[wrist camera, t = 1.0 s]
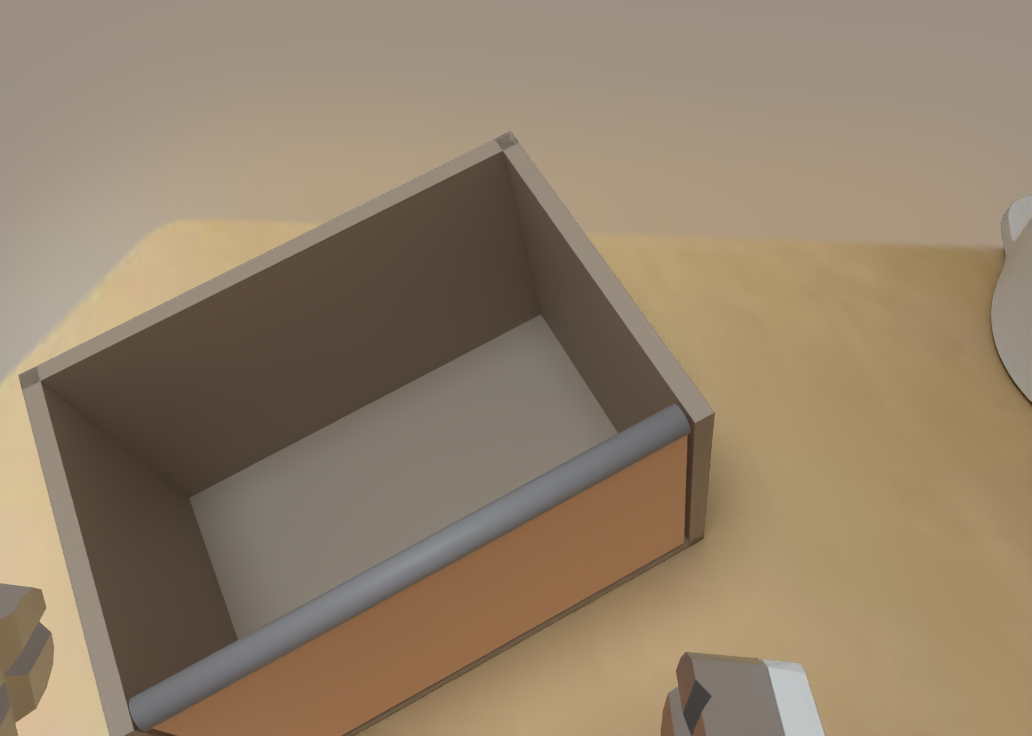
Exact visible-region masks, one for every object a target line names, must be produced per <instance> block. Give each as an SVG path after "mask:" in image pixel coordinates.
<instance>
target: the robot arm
mask: <svg viewBox="0 0 1032 736" xmlns="http://www.w3.org/2000/svg"><path fill="white" fill-rule="evenodd" d="M1001 231H1002V239H1003V245H1004V250H1005V255H1006V257H1005V263H1004V266H1003V269H1002V272H1001V274H1000V277H999V279H998V282H997V285H996V287H995V291H994V294H993V299H992V307H991V324H992V331H993V336H994V340H995V344H996V347H997V350H998V352H999V355H1000V357H1001V359H1002V362H1003V364H1004V366H1005V367H1006V369H1007V371H1008V373H1009V374H1010V376H1011V377H1012V379H1013V380H1014V382H1015V383H1016V384H1017V386H1018V387H1019V388H1020V390H1021V391H1022V392H1023V393H1024V394H1025V395H1026V397H1027V398H1028V399H1029V400H1030V401H1031V402H1032V195H1029V196H1026V197H1023V198H1020V199H1018V200H1017V201H1015V202H1013V203H1012V205H1011V206H1010V207H1009V208H1008V210H1007V212H1006V213H1005V214H1004V215H1003V218H1002V222H1001ZM45 610H46V605H45V601H44V597H43V593H42V590H41V589H37V588H32V587H24V586H16V585H8V584H1V583H0V736H18V733H17V729H16V725H15V723H16V722H17V721H19V720H20V719H22V718H23V717H24V716H26V715H27V714H29V713H30V712H32V711H33V710H35V709H36V708H37V706H38V704H39V702H40V700H41V698H42V696H43V694H44V692H45V690H46V687H47V684H48V680H49V677H50V673H51V670H52V666H53V655H54V644H53V639H52V633H51V632H50V631H49V630H48V629H47V628H46V627H44V626H43V625H42V624H41V623H40V622H39V620H40V619H41V617H42V615H43V613H44V611H45ZM676 673H677V680H678V687H677V688H675V689H674V690H672V691H671V692H669V693H668V696H667V699H666V702H665V706H664V709H663V716H662V725H661V736H826V735H825V732H824V729H823V726H822V722H821V719H820V716H819V713H818V710H817V707H816V703H815V700H814V697H813V694H812V691H811V688H810V685H809V681H808V678H807V675H806V672H805V670H804V668H803V667H802V666H801V665H800V663H794V662H784V661H774V660H764V659H761V660H759V659H758V658H748V657H737V656H726V655H714V654H703V653H691V652H685V654H684V655H683V656H682V657H681V659H680V661H679V664H678V667H677V669H676Z"/></svg>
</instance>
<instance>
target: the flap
mask: <svg viewBox="0 0 1032 736" xmlns="http://www.w3.org/2000/svg"><path fill="white" fill-rule="evenodd" d="M690 433H691V429H690V425H689V423H688V421H687V419H686V417H685V415H684V413H683V412H682V410H681V409H680V408H679V407H678V406H677V405H676V404H675V403H673V404H671V405H670V406H668V407H666V408H664V409H662V410H660V411H658V412H657V413H655V414H653V415H651V416H649V417H647V418H646V419H644V420H642V421H640V422H638V423H636V424H635V425H633V426H631V427H629V428H627V429H625V430H623V431H622V432H620V433H618V434H616V435H614V436H612V437H611V438H609V439H607V440H605V441H603V442H601V443H600V444H598V445H596V446H594V447H592V448H590V449H589V450H587V451H585V452H583V453H581V454H579V455H577V456H576V457H574V458H572V459H570V460H568V461H566V462H565V463H563V464H561V465H559V466H557V467H555V468H554V469H552V470H550V471H548V472H546V473H544V474H542V475H541V476H539V477H537V478H535V479H533V480H531V481H530V482H528V483H526V484H524V485H522V486H520V487H519V488H517V489H515V490H513V491H511V492H509V493H507V494H506V495H504V496H502V497H500V498H498V499H496V500H495V501H493V502H491V503H489V504H487V505H485V506H484V507H482V508H480V509H478V510H476V511H474V512H473V513H471V514H469V515H467V516H465V517H463V518H461V519H460V520H458V521H456V522H454V523H452V524H450V525H449V526H447V527H445V528H443V529H441V530H439V531H438V532H436V533H434V534H432V535H430V536H428V537H426V538H425V539H423V540H421V541H419V542H417V543H415V544H414V545H412V546H410V547H408V548H406V549H404V550H403V551H401V552H399V553H397V554H395V555H393V556H392V557H390V558H388V559H386V560H384V561H382V562H380V563H379V564H377V565H375V566H373V567H371V568H369V569H368V570H366V571H364V572H362V573H360V574H358V575H357V576H355V577H353V578H351V579H349V580H347V581H345V582H344V583H342V584H340V585H338V586H336V587H334V588H333V589H331V590H329V591H327V592H325V593H323V594H322V595H320V596H318V597H316V598H314V599H312V600H310V601H309V602H307V603H305V604H303V605H301V606H299V607H298V608H296V609H294V610H292V611H290V612H288V613H287V614H285V615H283V616H281V617H279V618H277V619H276V620H274V621H272V622H270V623H268V624H266V625H264V626H263V627H261V628H259V629H257V630H255V631H253V632H252V633H250V634H248V635H246V636H244V637H242V638H241V639H239V640H237V641H235V642H233V643H231V644H229V645H228V646H226V647H224V648H222V649H220V650H218V651H217V652H215V653H213V654H211V655H209V656H207V657H206V658H204V659H202V660H200V661H198V662H196V663H194V664H193V665H191V666H189V667H187V668H185V669H183V670H182V671H180V672H178V673H176V674H174V675H172V676H171V677H169V678H167V679H165V680H163V681H161V682H160V683H158V684H156V685H154V686H152V687H150V688H148V689H147V690H145V691H143V692H141V693H139V694H137V695H136V696H134V697H132V698H131V699H130V701H129V709H130V713H131V716H132V718H133V720H134V722H135V724H136V725H137V726H138V727H139V728H140V729H141V730H142V731H148V730H150V729H156V730H159V731H163V732H166V733H170V734H173V735H177V736H342V735H344V734H346V733H347V732H349V731H351V730H353V729H354V728H356V727H358V726H360V725H362V724H363V723H365V722H367V721H369V720H370V719H372V718H374V717H376V716H378V715H379V714H381V713H383V712H385V711H386V710H388V709H390V708H392V707H394V706H395V705H397V704H399V703H401V702H402V701H404V700H406V699H408V698H410V697H411V696H413V695H415V694H417V693H418V692H420V691H422V690H424V689H426V688H427V687H429V686H431V685H433V684H434V683H436V682H438V681H440V680H442V679H443V678H445V677H447V676H449V675H450V674H452V673H454V672H456V671H457V670H459V669H461V668H463V667H465V666H466V665H468V664H470V663H472V662H473V661H475V660H477V659H479V658H481V657H482V656H484V655H486V654H488V653H489V652H491V651H493V650H495V649H497V648H498V647H500V646H502V645H504V644H505V643H507V642H509V641H511V640H513V639H514V638H516V637H518V636H520V635H521V634H523V633H525V632H527V631H529V630H530V629H532V628H534V627H536V626H537V625H539V624H541V623H543V622H545V621H546V620H548V619H550V618H552V617H553V616H555V615H557V614H559V613H561V612H562V611H564V610H566V609H568V608H569V607H571V606H573V605H575V604H577V603H578V602H580V601H582V600H584V599H585V598H587V597H589V596H591V595H593V594H594V593H596V592H598V591H600V590H601V589H603V588H605V587H607V586H609V585H610V584H612V583H614V582H616V581H617V580H619V579H621V578H623V577H625V576H626V575H628V574H630V573H632V572H633V571H635V570H637V569H639V568H641V567H642V566H644V565H646V564H648V563H649V562H651V561H653V560H655V559H657V558H658V557H660V556H662V555H664V554H665V553H667V552H669V551H671V550H673V549H674V548H676V547H678V546H680V545H681V544H683V543H684V527H685V497H686V466H687V436H688V434H690Z"/></svg>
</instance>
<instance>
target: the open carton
mask: <svg viewBox="0 0 1032 736" xmlns="http://www.w3.org/2000/svg"><path fill="white" fill-rule="evenodd" d="M18 376H19V380H20V384H21V388H22V392H23V396H24V400H25V404H26V408H27V412H28V416H29V420H30V424H31V427H32V431H33V435H34V439H35V443H36V447H37V451H38V455H39V459H40V463H41V467H42V471H43V475H44V479H45V483H46V487H47V491H48V495H49V499H50V502H51V506H52V510H53V514H54V518H55V522H56V526H57V530H58V534H59V538H60V542H61V546H62V550H63V554H64V558H65V562H66V566H67V570H68V574H69V578H70V581H71V585H72V589H73V593H74V597H75V601H76V605H77V609H78V613H79V617H80V621H81V625H82V629H83V633H84V637H85V641H86V645H87V649H88V653H89V656H90V660H91V664H92V668H93V672H94V676H95V680H96V684H97V688H98V692H99V696H100V700H101V704H102V708H103V712H104V716H105V720H106V724H107V728H108V732H109V735H110V736H177V735H173V734H170V733H166V732H163V731H159V730H156V729H150V730H148V731H142V730H141V729H140V728H139V727H138V726H137V725H136V724H135V722H134V720H133V718H132V716H131V713H130V709H129V701H130V699H131V698H132V697H134V696H136V695H137V694H139V693H141V692H143V691H145V690H147V689H148V688H150V687H152V686H154V685H156V684H158V683H160V682H161V681H163V680H165V679H167V678H169V677H171V676H172V675H174V674H176V673H178V672H180V671H182V670H183V669H185V668H187V667H189V666H191V665H193V664H194V663H196V662H198V661H200V660H202V659H204V658H206V657H207V656H209V655H211V654H213V653H215V652H217V651H218V650H220V649H222V648H224V647H226V646H228V645H229V644H231V643H233V642H235V641H237V640H239V639H241V638H242V637H244V636H246V635H248V634H250V633H252V632H253V631H255V630H257V629H259V628H261V627H263V626H264V625H266V624H268V623H270V622H272V621H274V620H276V619H277V618H279V617H281V616H283V615H285V614H287V613H288V612H290V611H292V610H294V609H296V608H298V607H299V606H301V605H303V604H305V603H307V602H309V601H310V600H312V599H314V598H316V597H318V596H320V595H322V594H323V593H325V592H327V591H329V590H331V589H333V588H334V587H336V586H338V585H340V584H342V583H344V582H345V581H347V580H349V579H351V578H353V577H355V576H357V575H358V574H360V573H362V572H364V571H366V570H368V569H369V568H371V567H373V566H375V565H377V564H379V563H380V562H382V561H384V560H386V559H388V558H390V557H392V556H393V555H395V554H397V553H399V552H401V551H403V550H404V549H406V548H408V547H410V546H412V545H414V544H415V543H417V542H419V541H421V540H423V539H425V538H426V537H428V536H430V535H432V534H434V533H436V532H438V531H439V530H441V529H443V528H445V527H447V526H449V525H450V524H452V523H454V522H456V521H458V520H460V519H461V518H463V517H465V516H467V515H469V514H471V513H473V512H474V511H476V510H478V509H480V508H482V507H484V506H485V505H487V504H489V503H491V502H493V501H495V500H496V499H498V498H500V497H502V496H504V495H506V494H507V493H509V492H511V491H513V490H515V489H517V488H519V487H520V486H522V485H524V484H526V483H528V482H530V481H531V480H533V479H535V478H537V477H539V476H541V475H542V474H544V473H546V472H548V471H550V470H552V469H554V468H555V467H557V466H559V465H561V464H563V463H565V462H566V461H568V460H570V459H572V458H574V457H576V456H577V455H579V454H581V453H583V452H585V451H587V450H589V449H590V448H592V447H594V446H596V445H598V444H600V443H601V442H603V441H605V440H607V439H609V438H611V437H612V436H614V435H616V434H618V433H620V432H622V431H623V430H625V429H627V428H629V427H631V426H633V425H635V424H636V423H638V422H640V421H642V420H644V419H646V418H647V417H649V416H651V415H653V414H655V413H657V412H658V411H660V410H662V409H664V408H666V407H668V406H670V405H671V404H673V403H675V404H676V405H677V406H678V407H679V408H680V409H681V410H682V412H683V413H684V415H685V417H686V419H687V421H688V423H689V425H690V429H691V433H690V434H688V436H687V466H686V497H685V527H684V543H683V544H681V545H680V546H678V547H676V548H674V549H673V550H671V551H669V552H667V553H665V554H664V555H662V556H660V557H658V558H657V559H655V560H653V561H651V562H649V563H648V564H646V565H644V566H642V567H641V568H639V569H637V570H635V571H633V572H632V573H630V574H628V575H626V576H625V577H623V578H621V579H619V580H617V581H616V582H614V583H612V584H610V585H609V586H607V587H605V588H603V589H601V590H600V591H598V592H596V593H594V594H593V595H591V596H589V597H587V598H585V599H584V600H582V601H580V602H578V603H577V604H575V605H573V606H571V607H569V608H568V609H566V610H564V611H562V612H561V613H559V614H557V615H555V616H553V617H552V618H550V619H548V620H546V621H545V622H543V623H541V624H539V625H537V626H536V627H534V628H532V629H530V630H529V631H527V632H525V633H523V634H521V635H520V636H518V637H516V638H514V639H513V640H511V641H509V642H507V643H505V644H504V645H502V646H500V647H498V648H497V649H495V650H493V651H491V652H489V653H488V654H486V655H484V656H482V657H481V658H479V659H477V660H475V661H473V662H472V663H470V664H468V665H466V666H465V667H463V668H461V669H459V670H457V671H456V672H454V673H452V674H450V675H449V676H447V677H445V678H443V679H442V680H440V681H438V682H436V683H434V684H433V685H431V686H429V687H427V688H426V689H424V690H422V691H420V692H418V693H417V694H415V695H413V696H411V697H410V698H408V699H406V700H404V701H402V702H401V703H399V704H397V705H395V706H394V707H392V708H390V709H388V710H386V711H385V712H383V713H381V714H379V715H378V716H376V717H374V718H372V719H370V720H369V721H367V722H365V723H363V724H362V725H360V726H358V727H356V728H354V729H353V730H351V731H349V732H347V733H346V734H344V735H342V736H354V735H356V734H357V733H359V732H361V731H363V730H364V729H366V728H368V727H370V726H372V725H373V724H375V723H377V722H379V721H380V720H382V719H384V718H386V717H388V716H389V715H391V714H393V713H395V712H396V711H398V710H400V709H402V708H404V707H405V706H407V705H409V704H411V703H412V702H414V701H416V700H418V699H419V698H421V697H423V696H425V695H427V694H428V693H430V692H432V691H434V690H435V689H437V688H439V687H441V686H443V685H444V684H446V683H448V682H450V681H451V680H453V679H455V678H457V677H459V676H460V675H462V674H464V673H466V672H467V671H469V670H471V669H473V668H474V667H476V666H478V665H480V664H482V663H483V662H485V661H487V660H489V659H490V658H492V657H494V656H496V655H498V654H499V653H501V652H503V651H505V650H506V649H508V648H510V647H512V646H514V645H515V644H517V643H519V642H521V641H522V640H524V639H526V638H528V637H530V636H531V635H533V634H535V633H537V632H538V631H540V630H542V629H544V628H545V627H547V626H549V625H551V624H553V623H554V622H556V621H558V620H560V619H561V618H563V617H565V616H567V615H569V614H570V613H572V612H574V611H576V610H577V609H579V608H581V607H583V606H585V605H586V604H588V603H590V602H592V601H593V600H595V599H597V598H599V597H600V596H602V595H604V594H606V593H608V592H609V591H611V590H613V589H615V588H616V587H618V586H620V585H622V584H624V583H625V582H627V581H629V580H631V579H632V578H634V577H636V576H638V575H640V574H641V573H643V572H645V571H647V570H648V569H650V568H652V567H654V566H656V565H657V564H659V563H661V562H663V561H664V560H666V559H668V558H670V557H671V556H673V555H675V554H677V553H679V552H680V551H682V550H684V549H686V548H687V547H689V546H691V545H693V544H695V543H696V542H698V541H700V540H702V539H703V536H704V525H705V514H706V503H707V492H708V480H709V469H710V458H711V447H712V436H713V425H714V413H715V412H714V411H713V410H712V408H711V407H710V405H709V404H708V403H707V401H706V400H705V399H704V397H703V396H702V394H701V393H700V392H699V390H698V389H697V387H696V386H695V385H694V383H693V382H692V381H691V379H690V378H689V376H688V375H687V374H686V372H685V371H684V370H683V368H682V367H681V365H680V364H679V363H678V361H677V360H676V358H675V357H674V356H673V354H672V353H671V352H670V350H669V349H668V347H667V346H666V345H665V343H664V342H663V341H662V339H661V338H660V336H659V335H658V334H657V332H656V331H655V330H654V328H653V327H652V325H651V324H650V323H649V321H648V320H647V318H646V317H645V316H644V314H643V313H642V312H641V310H640V309H639V307H638V306H637V305H636V303H635V302H634V301H633V299H632V298H631V296H630V295H629V294H628V292H627V291H626V289H625V288H624V287H623V285H622V284H621V283H620V281H619V280H618V278H617V277H616V276H615V274H614V273H613V272H612V270H611V269H610V267H609V266H608V265H607V263H606V262H605V260H604V259H603V258H602V256H601V255H600V254H599V252H598V251H597V249H596V248H595V247H594V245H593V244H592V243H591V241H590V240H589V238H588V237H587V236H586V234H585V233H584V231H583V230H582V229H581V227H580V226H579V225H578V223H577V222H576V221H575V220H574V218H573V216H572V215H571V214H570V212H569V211H568V209H567V208H566V207H565V205H564V204H563V203H562V201H561V200H560V199H559V197H558V196H557V194H556V193H555V191H554V190H553V189H552V188H551V186H550V185H549V183H548V182H547V180H546V179H545V178H544V176H543V175H542V174H541V172H540V171H539V169H538V168H537V167H536V166H535V164H534V162H533V161H532V160H531V159H530V157H529V156H528V154H527V153H526V152H525V150H524V149H523V147H522V146H521V145H520V143H519V142H518V140H517V139H516V138H515V136H514V135H513V133H512V132H511V131H510V132H508V133H506V134H504V135H502V136H500V137H498V138H496V139H494V140H492V141H490V142H488V143H486V144H484V145H482V146H480V147H478V148H476V149H474V150H472V151H470V152H468V153H465V154H463V155H461V156H460V157H458V158H456V159H453V160H451V161H450V162H448V163H445V164H443V165H441V166H439V167H438V168H435V169H433V170H431V171H429V172H427V173H425V174H423V175H421V176H419V177H417V178H415V179H413V180H411V181H409V182H407V183H405V184H403V185H401V186H399V187H397V188H395V189H393V190H391V191H389V192H387V193H385V194H383V195H381V196H379V197H377V198H375V199H373V200H371V201H369V202H367V203H365V204H363V205H361V206H359V207H357V208H355V209H353V210H351V211H349V212H347V213H344V214H342V215H341V216H338V217H336V218H334V219H332V220H330V221H328V222H326V223H324V224H322V225H320V226H318V227H316V228H314V229H312V230H310V231H308V232H306V233H304V234H302V235H300V236H298V237H296V238H294V239H292V240H290V241H288V242H286V243H284V244H282V245H280V246H278V247H276V248H274V249H272V250H270V251H268V252H266V253H264V254H262V255H260V256H258V257H256V258H254V259H252V260H250V261H248V262H246V263H244V264H242V265H240V266H238V267H236V268H234V269H232V270H230V271H228V272H226V273H223V274H221V275H219V276H217V277H215V278H213V279H211V280H209V281H207V282H205V283H203V284H201V285H199V286H197V287H195V288H193V289H191V290H189V291H187V292H185V293H183V294H181V295H179V296H177V297H175V298H173V299H171V300H169V301H167V302H165V303H163V304H161V305H159V306H157V307H155V308H153V309H151V310H149V311H147V312H145V313H143V314H141V315H139V316H137V317H135V318H133V319H131V320H129V321H127V322H125V323H123V324H121V325H119V326H117V327H115V328H113V329H111V330H109V331H107V332H105V333H103V334H100V335H98V336H96V337H94V338H92V339H90V340H88V341H86V342H84V343H82V344H80V345H78V346H76V347H74V348H72V349H70V350H68V351H66V352H64V353H62V354H60V355H58V356H56V357H54V358H52V359H50V360H48V361H46V362H44V363H42V364H40V365H38V366H36V367H34V368H32V369H30V370H28V371H26V372H24V373H22V374H20V375H18Z"/></svg>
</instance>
